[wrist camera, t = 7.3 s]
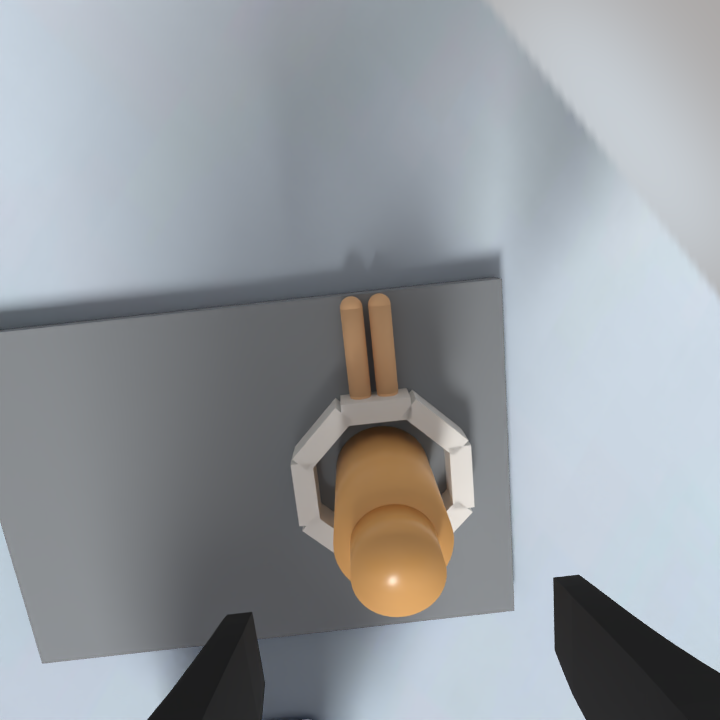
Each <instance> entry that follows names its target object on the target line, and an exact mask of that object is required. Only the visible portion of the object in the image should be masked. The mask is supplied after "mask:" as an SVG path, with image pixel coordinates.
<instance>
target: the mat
mask: <svg viewBox="0 0 720 720" xmlns="http://www.w3.org/2000/svg"><path fill="white" fill-rule="evenodd" d="M377 426H390V427H395V428H398V429H401V430H404V431H406V432H408V433H409V434H410V435H412V436H413V437H414V438H415V439H417V441H418V442H419V443H420V444H421V446H422V447H423V449H424V451H425V453H426V456H427V459H428V461H429V464H430V467H431V470H432V473H433V475H434V478H435V481H436V484H437V486H438V489H439V492H440V495H441V497H442V500H443V503H444V506H445V508H446V511H447V514H448V517H449V519H450V522H451V525H452V529H453V534H454V547H453V552H452V556H451V559H450V561H449V563H448V565H447V566H446V569H447V578H446V583H445V586H444V589H443V591H442V593H441V594H440V596H439V597H438V599H437V600H436V601H435V602H434V603H433V604H432V605H431V606H429V607H428V608H426V609H425V610H423V611H421V612H419V613H416V614H414V615H410V616H405V617H389V616H384V615H381V614H378V613H375V612H373V611H371V610H370V609H368V608H367V607H366V606H364V605H363V604H362V603H361V602H360V601H359V599H358V598H357V597H356V595H355V593H354V591H353V588H352V585H351V581H350V580H349V579H348V578H347V577H346V576H345V575H344V574H343V572H342V571H341V569H340V567H339V566H338V564H337V561H336V558H335V555H334V549H333V535H334V510H335V484H336V465H337V459H338V456H339V454H340V451H341V450H342V448H343V446H344V445H345V444H346V442H347V441H348V440H349V439H350V438H352V437H353V436H354V435H355V434H357V433H359V432H360V431H363V430H365V429H368V428H371V427H377ZM0 522H1V526H2V529H3V532H4V536H5V539H6V543H7V546H8V549H9V553H10V556H11V559H12V563H13V566H14V570H15V573H16V576H17V580H18V583H19V587H20V590H21V593H22V597H23V600H24V603H25V607H26V610H27V614H28V617H29V620H30V624H31V627H32V631H33V634H34V637H35V641H36V644H37V647H38V651H39V654H40V658H41V661H42V664H43V663H52V662H61V661H70V660H78V659H87V658H96V657H105V656H114V655H123V654H132V653H141V652H150V651H159V650H168V649H177V648H185V647H194V646H203V645H205V644H206V643H207V641H208V640H209V638H210V637H211V636H212V634H213V633H214V631H215V630H216V628H217V627H218V626H219V624H220V623H221V621H222V620H223V619H224V618H225V616H226V615H228V614H237V613H246V612H253V618H254V624H255V629H256V635H257V639H266V638H275V637H283V636H292V635H301V634H310V633H319V632H328V631H337V630H346V629H355V628H364V627H373V626H381V625H390V624H399V623H408V622H417V621H426V620H435V619H444V618H453V617H462V616H471V615H480V614H488V613H497V612H506V611H514V589H513V563H512V537H511V511H510V485H509V459H508V433H507V407H506V381H505V355H504V329H503V303H502V279H500V278H496V277H492V278H483V279H473V280H464V281H455V282H445V283H436V284H427V285H417V286H408V287H399V288H389V289H380V290H370V291H361V292H352V293H342V294H333V295H324V296H314V297H305V298H295V299H286V300H277V301H267V302H258V303H249V304H239V305H230V306H220V307H211V308H202V309H192V310H183V311H174V312H164V313H155V314H146V315H136V316H127V317H117V318H108V319H99V320H89V321H80V322H71V323H61V324H52V325H42V326H33V327H24V328H14V329H5V330H0Z"/></svg>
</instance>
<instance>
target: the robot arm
mask: <svg viewBox="0 0 720 720" xmlns="http://www.w3.org/2000/svg"><path fill="white" fill-rule="evenodd" d="M553 583H554V634H555V652H556V654H557V657H558V660H559V662H560V665H561V667H562V670H563V672H564V675H565V677H566V680H567V682H568V684H569V687H570V689H571V692H572V694H573V696H574V698H575V700H576V702H577V704H578V706H579V708H580V709H581V711H582V713H583V715H584V717H585V719H586V720H720V673H719V672H717V671H716V670H714V669H712V668H711V667H709V666H707V665H706V664H704V663H702V662H701V661H699V660H698V659H696V658H695V657H693V656H692V655H690V654H689V653H687V652H685V651H684V650H682V649H681V648H679V647H678V646H676V645H675V644H673V643H672V642H670V641H669V640H667V639H666V638H664V637H663V636H661V635H660V634H658V633H657V632H656V631H654V630H653V629H651V628H650V627H649V626H647V625H646V624H644V623H643V622H642V621H640V620H639V619H637V618H636V617H635V616H633V615H632V614H631V613H629V612H628V611H627V610H625V609H624V608H623V607H621V606H620V605H618V604H617V603H616V602H614V601H613V600H612V599H611V598H609V597H608V596H607V595H605V594H604V593H603V592H601V591H600V590H599V589H597V588H596V587H595V586H593V585H592V584H591V583H589V582H588V581H587V580H585V579H584V578H583V577H581V576H580V575H573V576H564V577H555V578H553ZM264 688H265V681H264V675H263V669H262V664H261V658H260V652H259V647H258V641H257V635H256V629H255V624H254V618H253V612H246V613H237V614H228V615H226V616H225V618H224V619H223V620H222V621H221V623H220V624H219V626H218V627H217V628H216V630H215V631H214V633H213V634H212V636H211V637H210V638H209V640H208V641H207V643H206V644H205V646H204V647H203V648H202V650H201V651H200V653H199V654H198V655H197V657H196V658H195V659H194V661H193V662H192V664H191V665H190V666H189V668H188V669H187V670H186V672H185V673H184V674H183V676H182V677H181V678H180V680H179V681H178V682H177V684H176V685H175V686H174V687H173V689H172V690H171V691H170V693H169V694H168V695H167V696H166V698H165V699H164V700H163V701H162V702H161V704H160V705H159V706H158V707H157V708H156V710H155V711H154V712H153V713H152V715H151V716H150V717H149V718H148V719H147V720H262V710H263V699H264ZM304 720H311V719H304Z"/></svg>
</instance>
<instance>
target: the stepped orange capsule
mask: <svg viewBox="0 0 720 720" xmlns="http://www.w3.org/2000/svg"><path fill="white" fill-rule="evenodd" d="M453 547H454V534H453V529H452V525H451V522H450V519H449V517H448V514H447V511H446V508H445V506H444V503H443V500H442V497H441V495H440V492H439V489H438V486H437V484H436V481H435V478H434V475H433V473H432V470H431V467H430V464H429V461H428V459H427V456H426V453H425V451H424V449H423V447H422V446H421V444H420V443H419V442H418V441H417V439H415V438H414V437H413V436H412V435H410V434H409V433H408V432H406V431H404V430H401V429H398V428H395V427H390V426H377V427H371V428H368V429H365V430H363V431H360V432H359V433H357V434H355V435H354V436H353V437H352V438H350V439H349V440H348V441H347V442H346V444H345V445H344V446H343V448H342V450H341V451H340V454H339V456H338V459H337V465H336V484H335V510H334V535H333V549H334V555H335V558H336V561H337V564H338V566H339V567H340V569H341V571H342V572H343V574H344V575H345V576H346V577H347V578H348V579H349V580H350V581H351V585H352V588H353V591H354V593H355V595H356V597H357V598H358V599H359V601H360V602H361V603H362V604H363V605H364V606H366V607H367V608H368V609H370V610H371V611H373V612H375V613H378V614H381V615H384V616H389V617H405V616H410V615H414V614H416V613H419V612H421V611H423V610H425V609H426V608H428V607H429V606H431V605H432V604H433V603H434V602H435V601H436V600H437V599H438V597H439V596H440V594H441V593H442V591H443V589H444V586H445V583H446V578H447V569H446V566H447V565H448V563H449V561H450V559H451V556H452V552H453Z"/></svg>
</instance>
